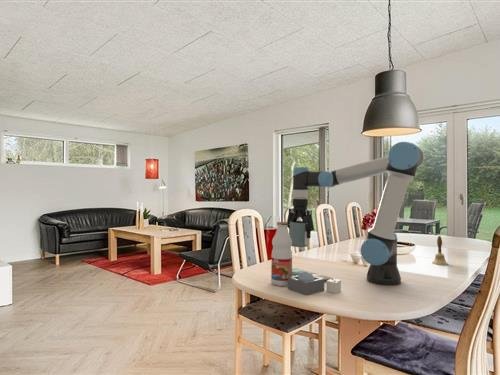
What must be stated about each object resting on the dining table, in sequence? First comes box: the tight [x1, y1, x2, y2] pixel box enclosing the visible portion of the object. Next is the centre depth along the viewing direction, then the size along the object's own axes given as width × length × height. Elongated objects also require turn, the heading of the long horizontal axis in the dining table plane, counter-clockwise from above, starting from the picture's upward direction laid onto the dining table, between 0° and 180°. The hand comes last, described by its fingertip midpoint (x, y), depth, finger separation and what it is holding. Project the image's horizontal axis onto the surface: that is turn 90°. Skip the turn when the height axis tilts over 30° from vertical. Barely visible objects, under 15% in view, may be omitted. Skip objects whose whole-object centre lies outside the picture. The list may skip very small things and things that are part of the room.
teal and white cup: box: [289, 220, 308, 248], centre depth 172 cm, size 10×10×12 cm
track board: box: [292, 267, 334, 283], centre depth 170 cm, size 24×13×1 cm, turn 37°
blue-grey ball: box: [298, 270, 314, 282], centre depth 149 cm, size 7×7×7 cm
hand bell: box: [431, 235, 449, 266], centre depth 200 cm, size 8×8×16 cm
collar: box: [287, 275, 325, 296], centre depth 149 cm, size 11×11×5 cm
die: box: [326, 278, 342, 294], centre depth 147 cm, size 4×4×5 cm
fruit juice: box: [270, 221, 293, 287], centre depth 158 cm, size 9×9×28 cm
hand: (299, 243), depth 172 cm, fingers closed on teal and white cup, 10 cm apart
